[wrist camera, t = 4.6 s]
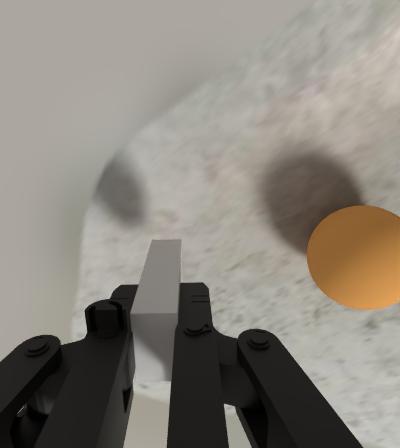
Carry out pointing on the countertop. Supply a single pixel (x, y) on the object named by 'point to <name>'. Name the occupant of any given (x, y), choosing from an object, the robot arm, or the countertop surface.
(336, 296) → the ball
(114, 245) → the countertop surface
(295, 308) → the countertop surface
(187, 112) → the countertop surface
